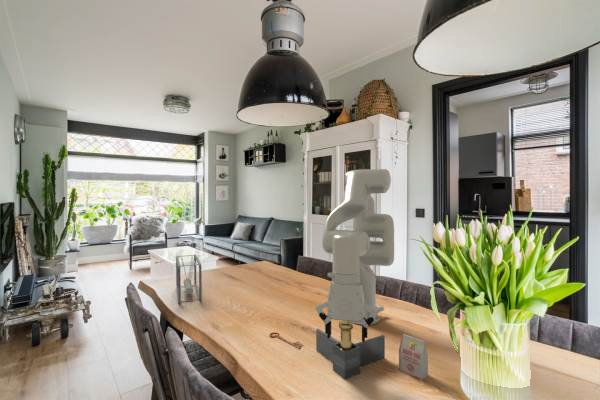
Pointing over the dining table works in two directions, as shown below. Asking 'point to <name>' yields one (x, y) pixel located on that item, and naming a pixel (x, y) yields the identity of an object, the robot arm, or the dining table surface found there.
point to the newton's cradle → (187, 281)
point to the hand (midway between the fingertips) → (346, 338)
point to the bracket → (350, 353)
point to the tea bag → (413, 357)
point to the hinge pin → (346, 334)
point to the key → (288, 341)
